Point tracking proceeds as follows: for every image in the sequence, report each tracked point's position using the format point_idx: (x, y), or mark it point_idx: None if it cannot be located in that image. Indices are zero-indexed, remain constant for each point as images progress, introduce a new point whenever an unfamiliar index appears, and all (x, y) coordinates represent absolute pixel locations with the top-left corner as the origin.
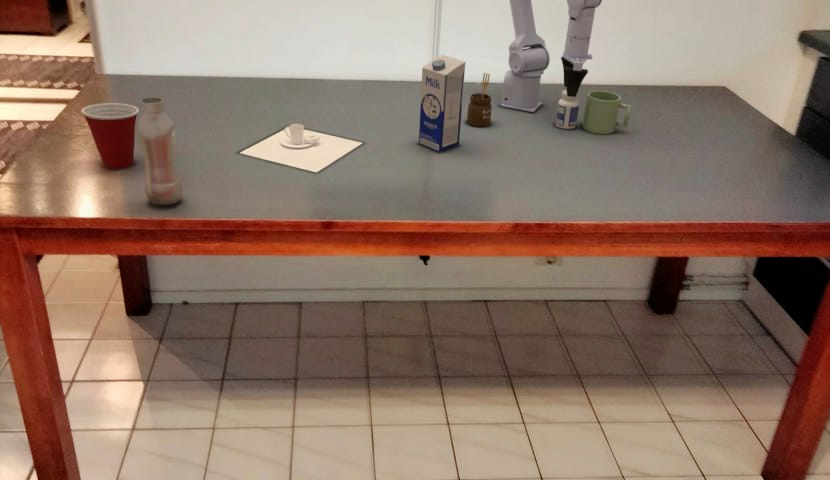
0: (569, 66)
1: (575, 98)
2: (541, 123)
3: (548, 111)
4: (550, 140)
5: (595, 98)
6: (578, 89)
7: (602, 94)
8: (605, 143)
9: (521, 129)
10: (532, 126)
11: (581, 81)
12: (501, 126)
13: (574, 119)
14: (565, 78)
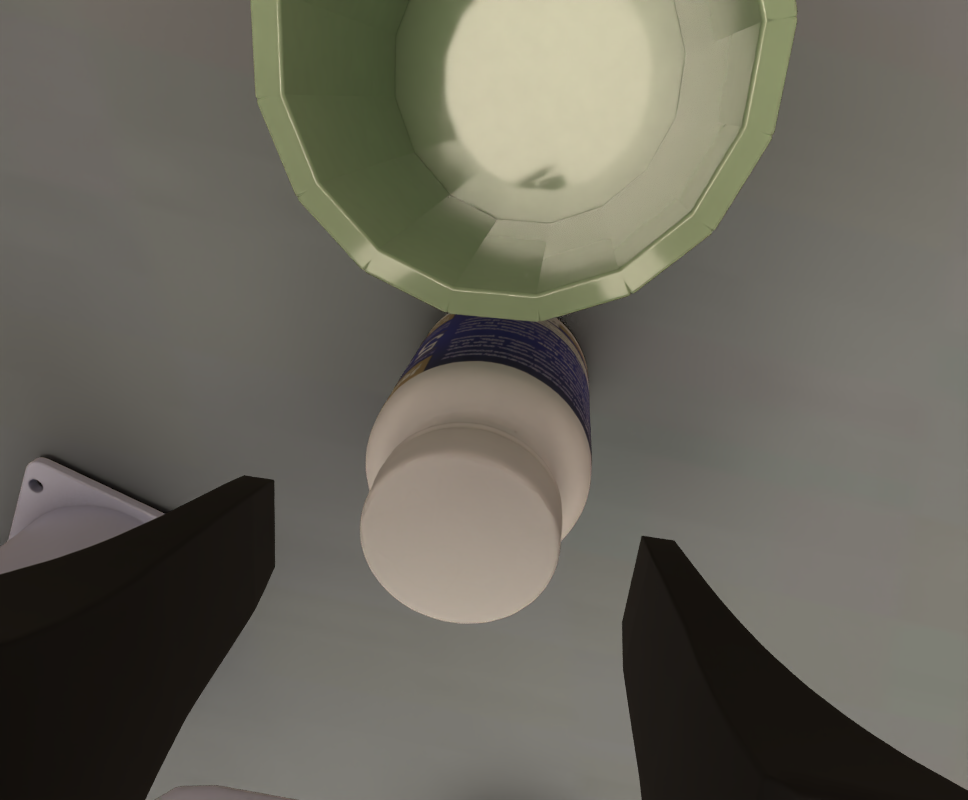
0: (115, 760)
1: (545, 469)
2: None
3: (178, 432)
4: (824, 560)
5: (656, 249)
6: (711, 591)
7: (297, 25)
8: (953, 109)
9: (596, 688)
10: (531, 612)
11: (806, 691)
12: (547, 780)
13: (574, 362)
14: (226, 639)
